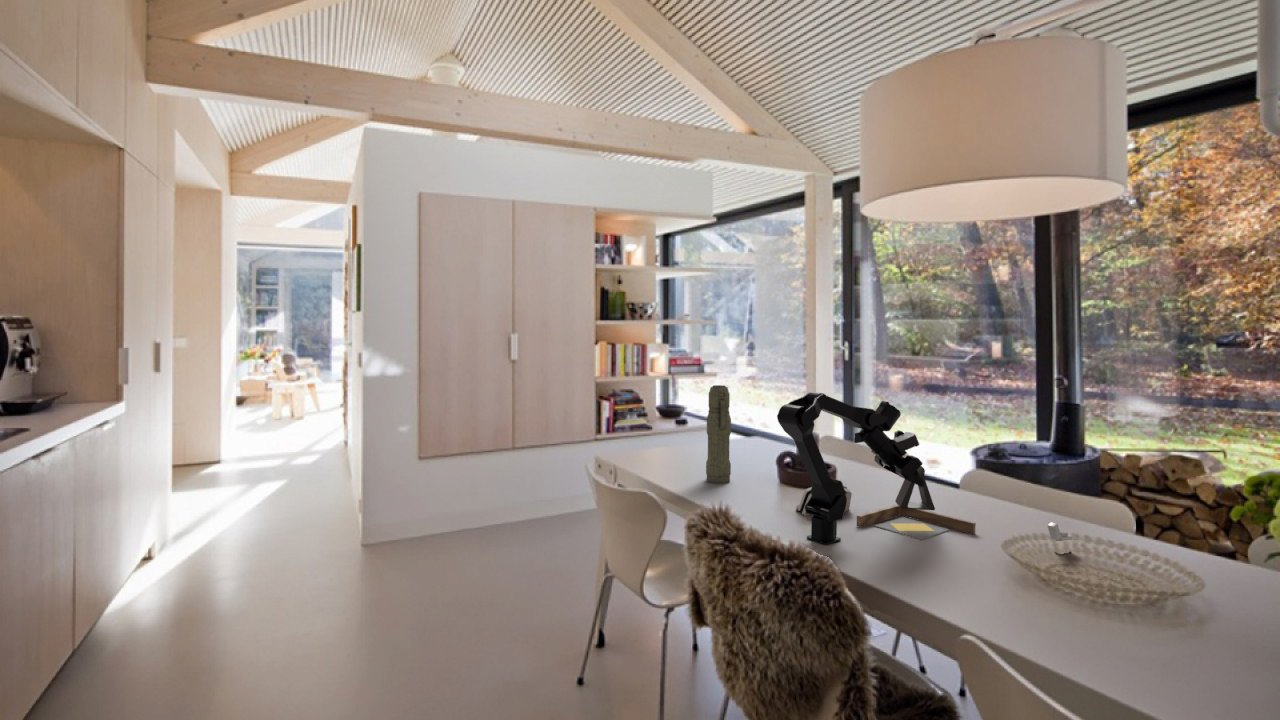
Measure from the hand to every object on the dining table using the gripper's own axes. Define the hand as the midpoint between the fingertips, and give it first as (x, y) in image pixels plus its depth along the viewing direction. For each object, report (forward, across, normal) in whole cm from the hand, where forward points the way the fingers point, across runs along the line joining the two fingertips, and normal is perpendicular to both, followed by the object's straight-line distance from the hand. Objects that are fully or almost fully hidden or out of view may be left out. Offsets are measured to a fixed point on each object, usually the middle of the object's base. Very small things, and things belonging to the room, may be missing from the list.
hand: (917, 482), depth 173 cm
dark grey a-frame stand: (+4, 0, +5) cm, 7 cm away
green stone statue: (-24, +56, +43) cm, 74 cm away
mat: (+8, 0, +10) cm, 13 cm away
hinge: (-5, +17, +24) cm, 30 cm away
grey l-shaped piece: (+28, -20, -10) cm, 36 cm away
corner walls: (+9, -1, +10) cm, 13 cm away
